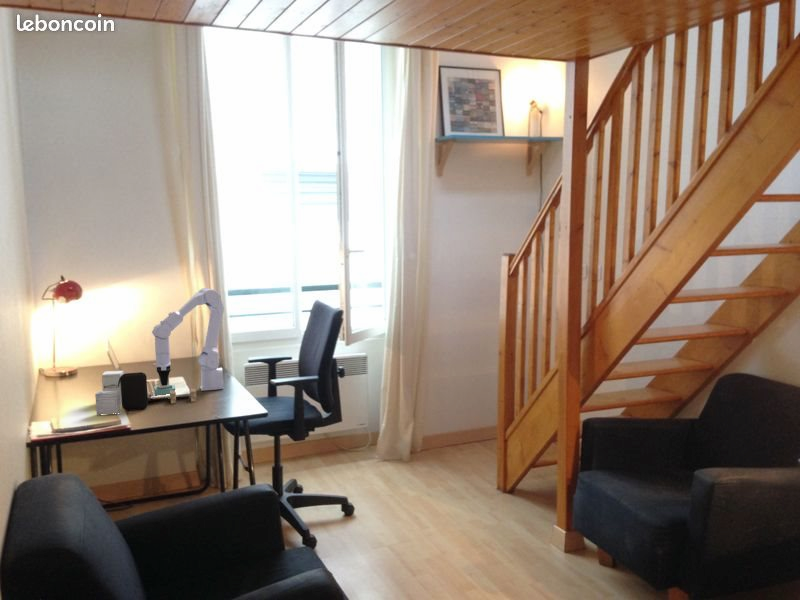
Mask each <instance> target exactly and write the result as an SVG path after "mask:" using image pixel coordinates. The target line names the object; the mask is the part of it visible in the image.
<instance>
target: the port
mask: <svg viewBox="0 0 800 600" xmlns="http://www.w3.org/2000/svg"><path fill="white" fill-rule="evenodd" d="M169 387H170V389H160V387H159V385H156V386H154V387H153V389H154V390H153V391H154V394H155V396H157V395H166V394H170V391H173V390H176V385H175V384H169Z"/></svg>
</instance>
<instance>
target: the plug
mask: <svg viewBox="0 0 800 600" xmlns="http://www.w3.org/2000/svg"><path fill="white" fill-rule="evenodd" d="M169 385H170V375H169V376H168V384H167V385H165V386H162V384H161V380H160V376H159V375H158V386H159V387H160V389H170V387H169Z"/></svg>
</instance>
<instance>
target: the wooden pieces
mask: <svg viewBox="0 0 800 600" xmlns="http://www.w3.org/2000/svg"><path fill="white" fill-rule="evenodd" d="M175 390H176V389H175ZM175 390H173V391H170V397H171V398H170V404H177V398H176V392H175ZM189 390H190V402H197V401H198V400H197V390H196V388H190V389H189Z"/></svg>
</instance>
